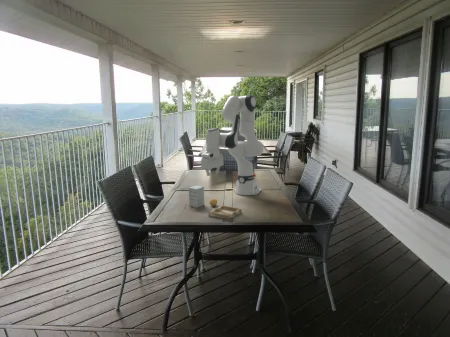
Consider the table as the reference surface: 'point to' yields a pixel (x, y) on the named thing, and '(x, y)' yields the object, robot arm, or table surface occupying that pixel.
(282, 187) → the table surface
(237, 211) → the tray
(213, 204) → the ball
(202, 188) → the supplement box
